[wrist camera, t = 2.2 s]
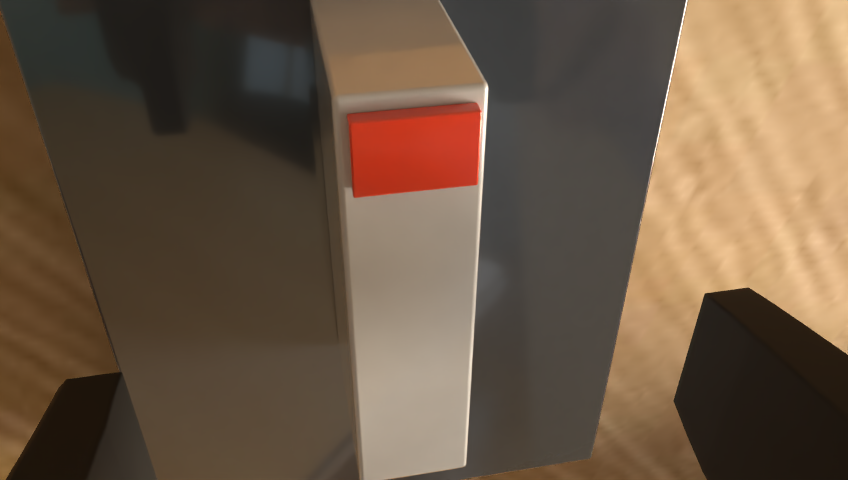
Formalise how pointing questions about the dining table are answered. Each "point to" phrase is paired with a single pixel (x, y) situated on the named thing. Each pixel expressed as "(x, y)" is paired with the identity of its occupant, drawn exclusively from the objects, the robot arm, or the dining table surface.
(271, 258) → the tap deck
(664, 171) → the dining table surface
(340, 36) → the tap lever
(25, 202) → the dining table surface
